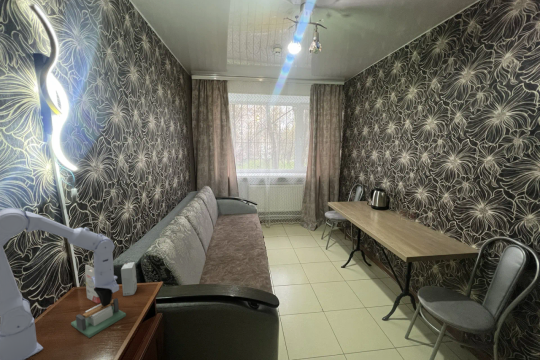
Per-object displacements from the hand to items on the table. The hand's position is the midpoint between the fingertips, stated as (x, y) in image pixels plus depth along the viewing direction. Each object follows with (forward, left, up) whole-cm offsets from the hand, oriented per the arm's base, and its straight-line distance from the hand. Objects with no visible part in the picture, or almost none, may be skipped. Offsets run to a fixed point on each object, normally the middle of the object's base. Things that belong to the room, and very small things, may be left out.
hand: (106, 304), depth 86 cm
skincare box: (+14, +8, -5) cm, 16 cm away
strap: (-2, 0, -1) cm, 2 cm away
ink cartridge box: (+5, +15, -5) cm, 16 cm away
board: (-2, 0, -5) cm, 5 cm away
